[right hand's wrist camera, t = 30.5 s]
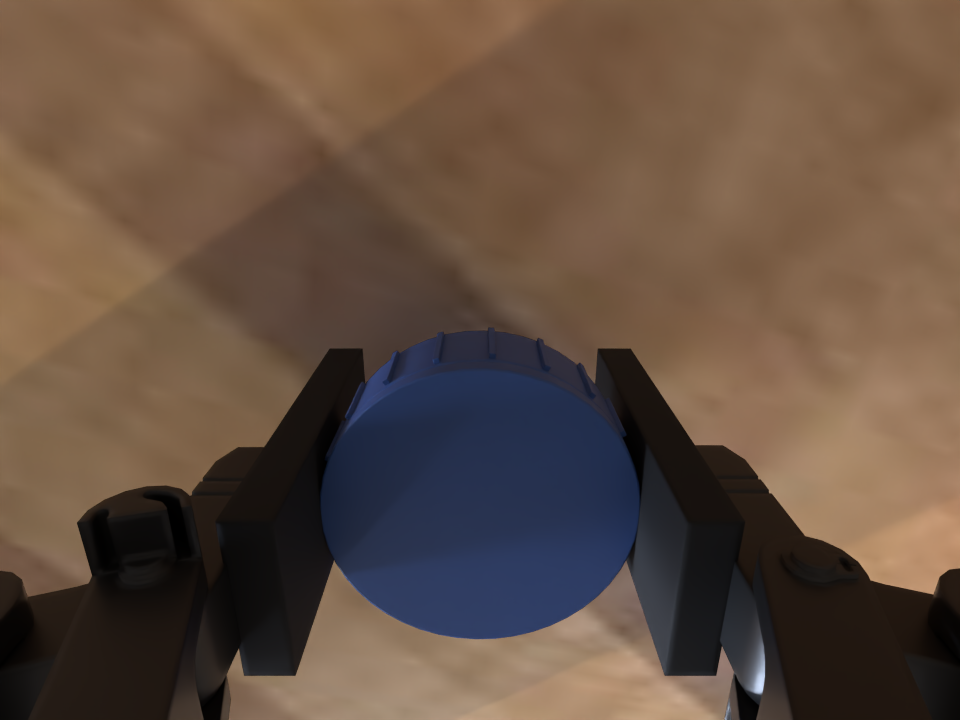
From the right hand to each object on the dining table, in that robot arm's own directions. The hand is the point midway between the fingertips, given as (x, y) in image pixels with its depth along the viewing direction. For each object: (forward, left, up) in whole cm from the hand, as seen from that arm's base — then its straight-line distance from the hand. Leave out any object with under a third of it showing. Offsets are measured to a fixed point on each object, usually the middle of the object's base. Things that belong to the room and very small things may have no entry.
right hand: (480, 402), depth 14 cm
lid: (0, 0, +4) cm, 4 cm away
